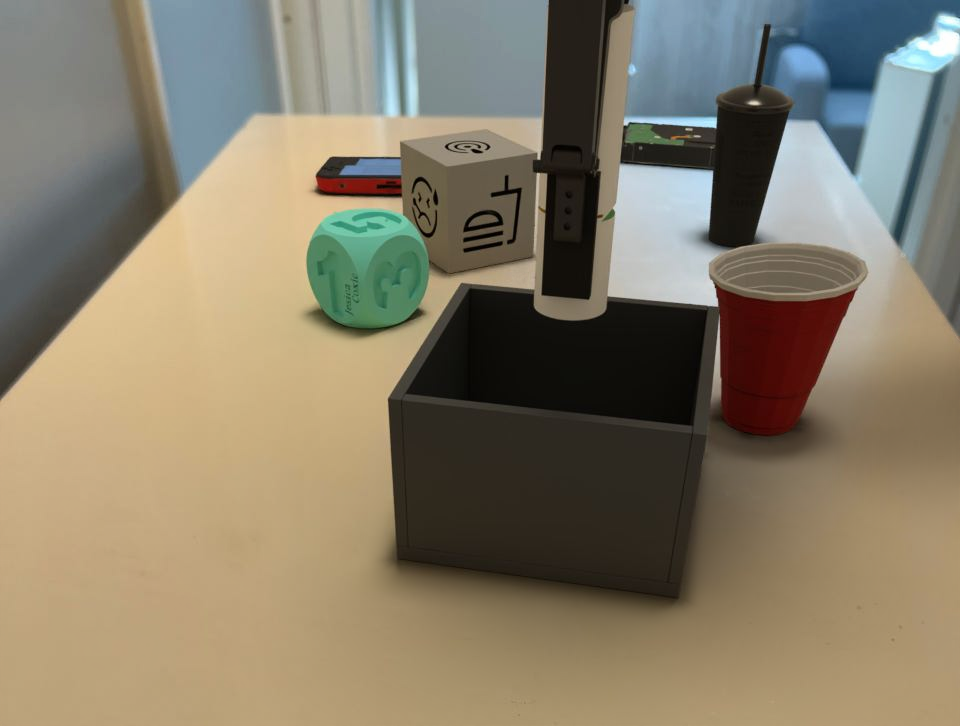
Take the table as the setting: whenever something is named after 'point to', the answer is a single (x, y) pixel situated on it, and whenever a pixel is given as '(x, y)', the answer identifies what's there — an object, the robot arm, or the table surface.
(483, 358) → the bin
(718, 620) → the table surface
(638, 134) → the disk drive
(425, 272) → the decorative dice
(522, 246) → the icon cube
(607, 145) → the tube
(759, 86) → the drinking cup
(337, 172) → the game console
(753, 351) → the plastic cup
